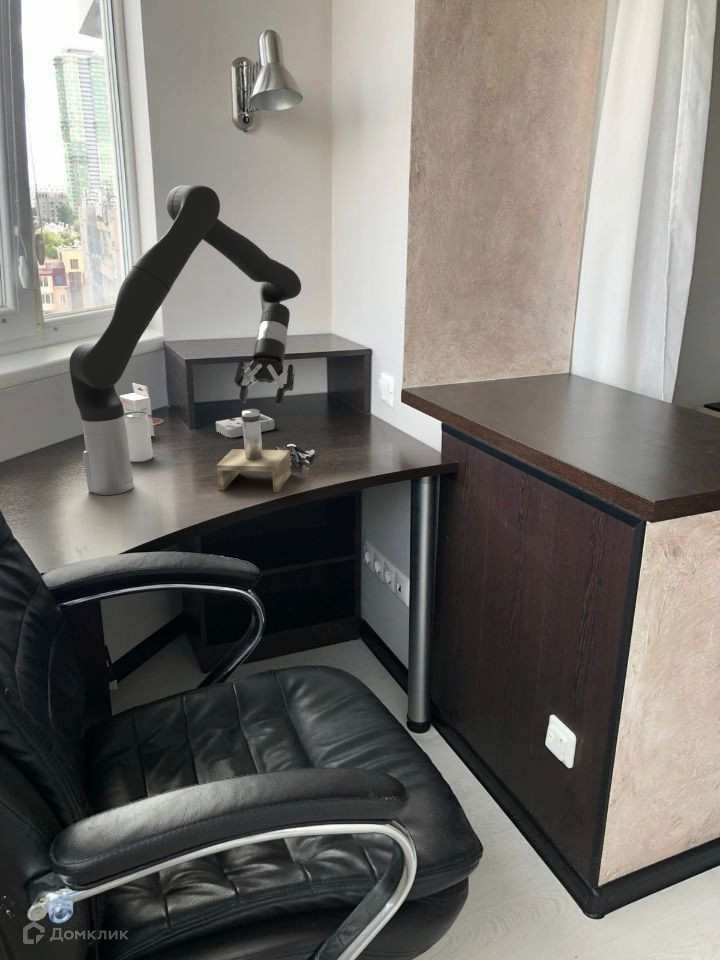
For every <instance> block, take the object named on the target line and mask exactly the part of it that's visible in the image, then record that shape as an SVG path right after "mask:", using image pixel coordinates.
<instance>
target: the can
mask: <svg viewBox="0 0 720 960" xmlns="http://www.w3.org/2000/svg"><path fill="white" fill-rule="evenodd" d="M124 416H125V423H126V431H127V438H128V445H129V453H130V460H131V463H144V462H148V461H150V460H151V459H152V458H153V457H154V452H153V444H152V438H151V435H150V427H149V419H148V417H147V415H146V412H143V411H133V412H128V413H125V414H124Z"/></svg>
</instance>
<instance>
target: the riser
mask: <svg viewBox="0 0 720 960" xmlns="http://www.w3.org/2000/svg"><path fill="white" fill-rule="evenodd" d="M262 454H263V458H261V459H258V460H247V459H245V448H243V449H241V448H240V449H239V448H238V449H236V448H235V449H234V448H232V449H230V451H229V452H228V453H227V454H226V455H225V456H224V457H223V458H222V459H221V460H220V461H219V462H218V463H217V464H216V474H217V475H216V477H217V486H218V491H225V490H226V489H227V488H228V487H229V485H230V484H231V483H232V481H234V479H235V478H236V477H237V476H238V475H239V474H240V472H271V474H272V490H273V492H274V493H280V491H281V490H282V488H283V486H284V485H285V484H286V482H287V480H288V479H289V478H290V476H291V474H292V471H291V455H290V454H291V453H290V450H289V449H288V450H287V449H285V450H284V449H262Z"/></svg>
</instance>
